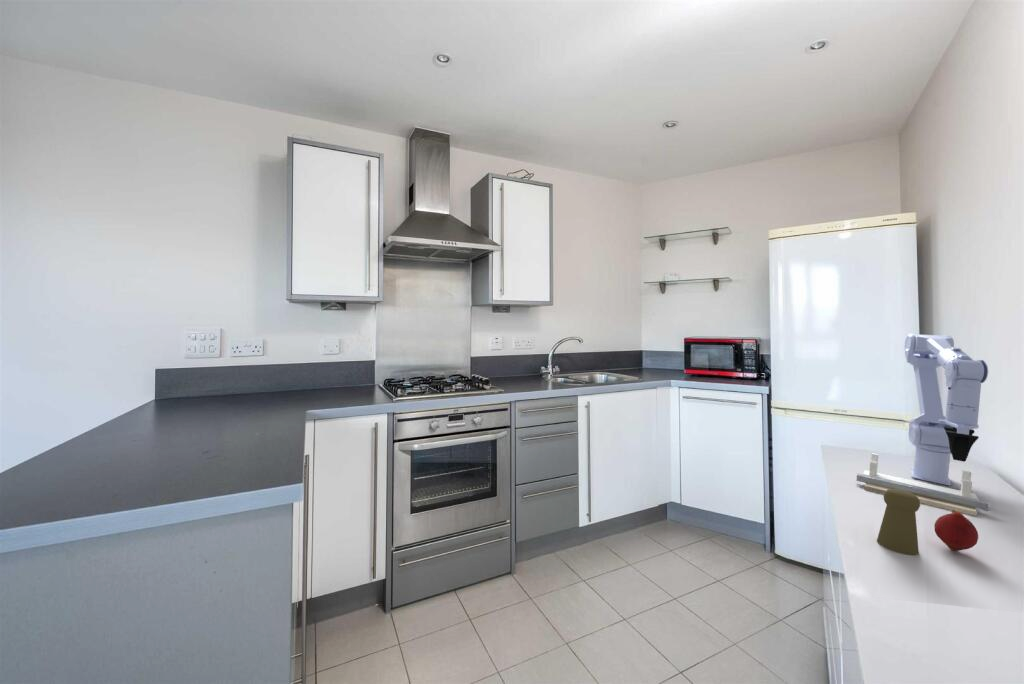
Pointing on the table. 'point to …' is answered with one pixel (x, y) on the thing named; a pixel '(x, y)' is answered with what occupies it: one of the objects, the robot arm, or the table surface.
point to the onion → (956, 531)
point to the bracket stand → (965, 483)
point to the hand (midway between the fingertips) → (957, 457)
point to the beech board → (929, 501)
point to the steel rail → (924, 492)
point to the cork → (900, 522)
